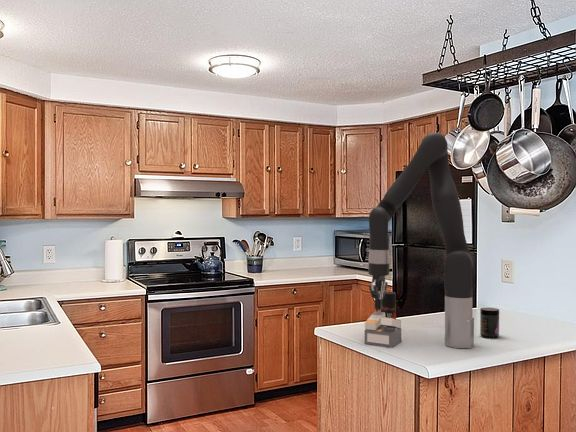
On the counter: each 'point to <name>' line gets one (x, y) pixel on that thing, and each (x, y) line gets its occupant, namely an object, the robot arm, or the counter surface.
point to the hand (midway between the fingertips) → (378, 309)
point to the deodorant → (389, 305)
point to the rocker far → (374, 320)
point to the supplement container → (489, 323)
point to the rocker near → (390, 322)
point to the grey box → (383, 336)
